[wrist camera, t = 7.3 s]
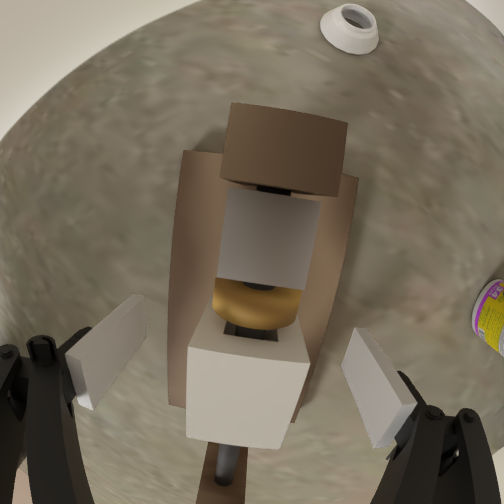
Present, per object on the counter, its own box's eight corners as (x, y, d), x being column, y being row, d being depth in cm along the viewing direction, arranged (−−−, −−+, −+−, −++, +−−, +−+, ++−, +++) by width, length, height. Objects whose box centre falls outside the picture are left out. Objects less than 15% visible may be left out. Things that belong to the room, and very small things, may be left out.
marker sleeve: (203, 378, 14) (186, 436, 9) (210, 296, 13) (187, 346, 8) (275, 388, 14) (279, 449, 9) (295, 309, 13) (310, 363, 8)
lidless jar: (311, 39, 16) (367, 65, 17) (317, 21, 13) (380, 51, 14) (328, 6, 15) (380, 30, 16) (335, -12, 12) (392, 15, 13)
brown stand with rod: (172, 394, 23) (131, 498, 11) (189, 153, 19) (87, 104, 6) (293, 412, 23) (305, 522, 11) (351, 178, 19) (470, 168, 6)
